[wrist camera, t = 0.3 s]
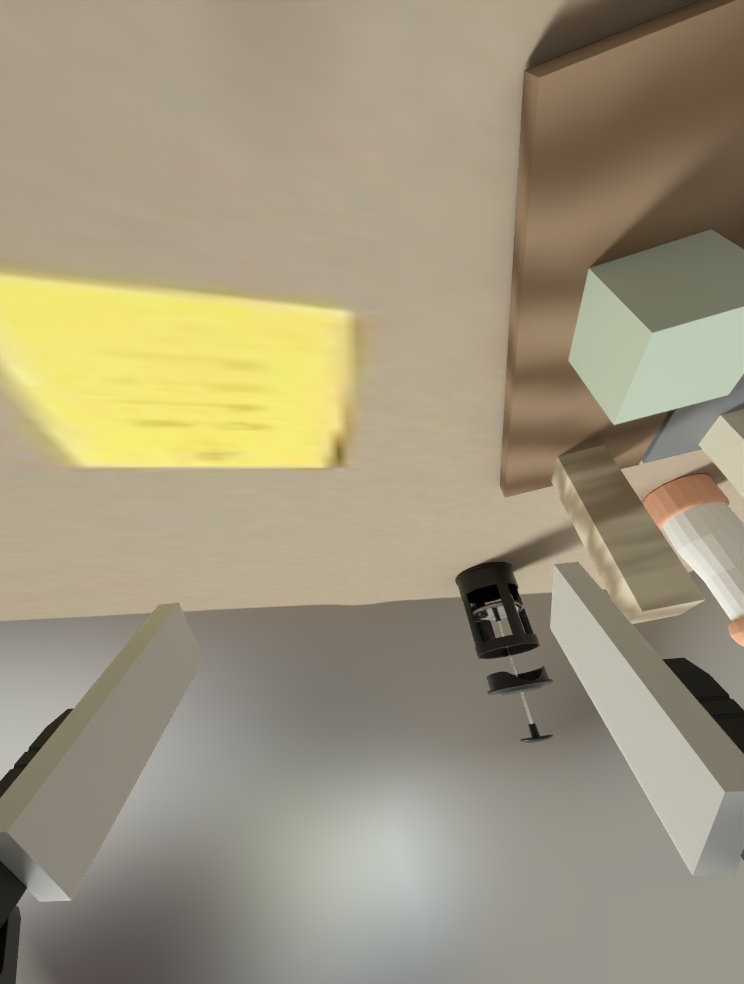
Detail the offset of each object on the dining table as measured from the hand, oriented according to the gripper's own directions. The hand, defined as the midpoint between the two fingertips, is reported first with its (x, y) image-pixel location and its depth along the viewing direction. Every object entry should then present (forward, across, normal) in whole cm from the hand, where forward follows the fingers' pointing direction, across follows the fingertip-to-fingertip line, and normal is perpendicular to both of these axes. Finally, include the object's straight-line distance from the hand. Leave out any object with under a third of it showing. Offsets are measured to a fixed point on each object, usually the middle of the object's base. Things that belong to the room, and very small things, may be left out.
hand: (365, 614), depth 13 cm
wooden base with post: (+18, +17, +6) cm, 25 cm away
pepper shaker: (+33, +35, -14) cm, 50 cm away
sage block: (+14, +16, +8) cm, 23 cm away
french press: (+41, +14, -30) cm, 52 cm away
